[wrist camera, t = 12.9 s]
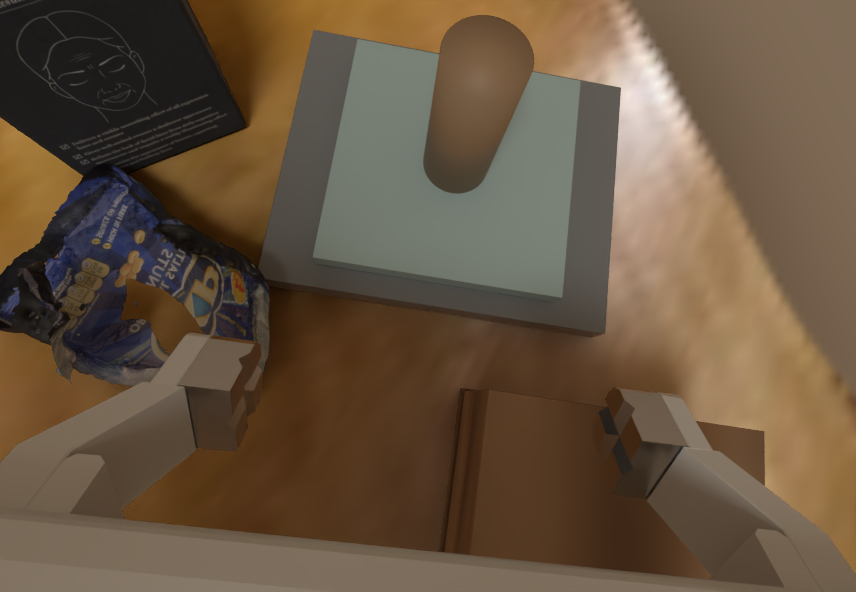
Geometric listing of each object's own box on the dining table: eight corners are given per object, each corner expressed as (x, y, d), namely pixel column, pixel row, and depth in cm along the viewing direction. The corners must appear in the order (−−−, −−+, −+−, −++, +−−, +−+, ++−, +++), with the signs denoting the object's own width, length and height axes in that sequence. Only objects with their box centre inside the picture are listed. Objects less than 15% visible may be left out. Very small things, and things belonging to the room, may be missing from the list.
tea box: (429, 631, 20) (446, 730, 14) (460, 388, 22) (486, 386, 16) (660, 660, 20) (770, 766, 15) (668, 420, 23) (766, 429, 17)
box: (208, 40, 25) (81, -213, 14) (250, 130, 24) (147, -71, 14) (55, 92, 23) (-204, -145, 13) (94, 189, 23) (-151, 17, 12)
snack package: (79, 493, 20) (322, 359, 22) (-75, 505, 14) (277, 320, 16) (15, 271, 24) (228, 171, 26) (-129, 206, 18) (163, 80, 20)
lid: (315, 263, 21) (274, 186, 13) (358, 53, 23) (344, -116, 16) (554, 302, 22) (648, 249, 14) (572, 93, 24) (661, -51, 16)
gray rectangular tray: (264, 285, 22) (255, 276, 21) (317, 51, 25) (313, 28, 24) (591, 337, 23) (606, 333, 22) (607, 105, 26) (621, 86, 24)
